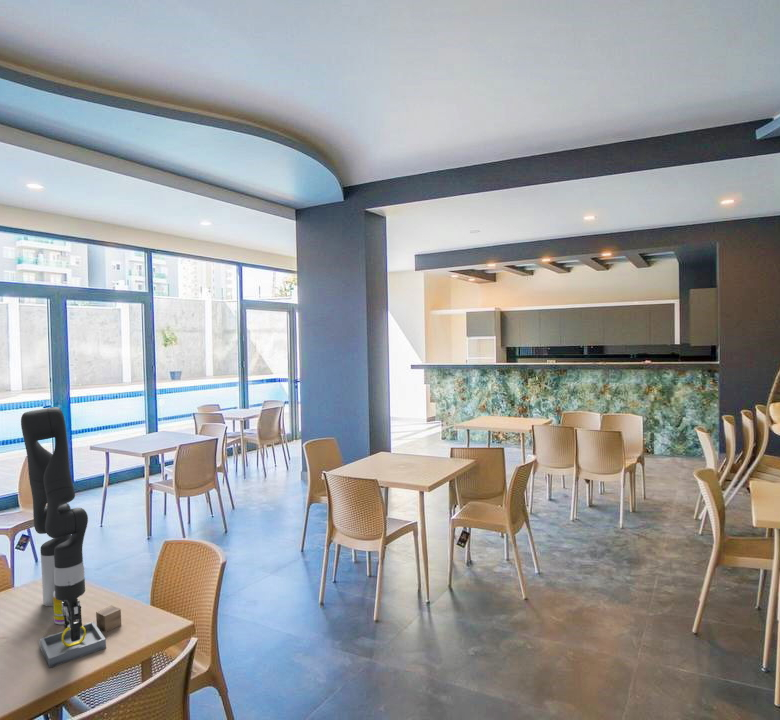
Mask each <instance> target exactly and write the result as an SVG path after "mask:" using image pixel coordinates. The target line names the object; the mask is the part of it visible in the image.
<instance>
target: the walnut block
mask: <svg viewBox="0 0 780 720" xmlns="http://www.w3.org/2000/svg"><path fill="white" fill-rule="evenodd" d="M95 617H96V626H97V627H98V629H99V630H100V631H102V632H105V633H106V632H109V631H111V630H113V629H116V628H117V627H120V626H121V625H122V609H120V608H119V607H116V606H114V605H110V606H108V607H105V608H103V609H100V610H98V611H96V613H95Z"/></svg>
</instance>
